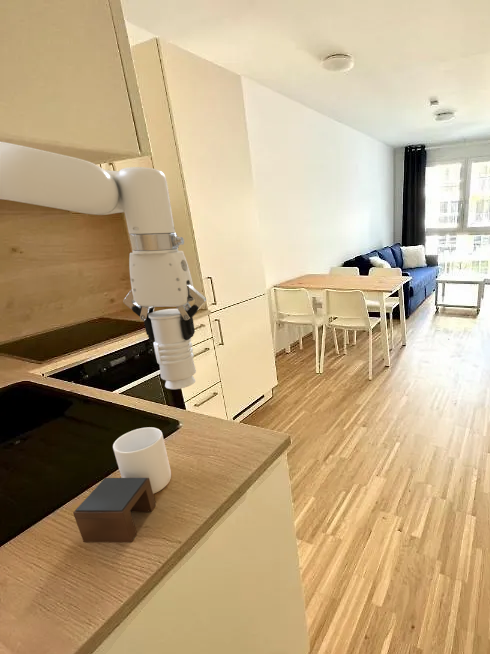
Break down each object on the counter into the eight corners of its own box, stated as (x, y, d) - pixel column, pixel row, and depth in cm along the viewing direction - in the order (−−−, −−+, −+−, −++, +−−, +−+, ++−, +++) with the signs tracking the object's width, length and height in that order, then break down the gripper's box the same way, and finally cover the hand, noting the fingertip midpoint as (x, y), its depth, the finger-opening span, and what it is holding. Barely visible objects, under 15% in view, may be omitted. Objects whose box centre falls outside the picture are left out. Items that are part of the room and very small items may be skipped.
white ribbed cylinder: (155, 384, 74) (140, 313, 69) (187, 373, 79) (175, 307, 74) (172, 393, 70) (157, 319, 65) (204, 381, 75) (193, 311, 70)
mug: (142, 460, 78) (131, 419, 74) (182, 456, 79) (173, 415, 75) (118, 501, 67) (104, 454, 63) (164, 496, 68) (153, 450, 64)
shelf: (83, 542, 58) (72, 511, 56) (113, 505, 66) (104, 476, 64) (131, 542, 58) (122, 511, 56) (156, 505, 66) (148, 476, 63)
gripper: (209, 242, 68) (221, 332, 75) (119, 243, 69) (138, 332, 75) (193, 244, 61) (208, 344, 68) (94, 246, 62) (117, 344, 68)
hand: (171, 337), depth 71 cm, fingers closed on white ribbed cylinder, 6 cm apart
